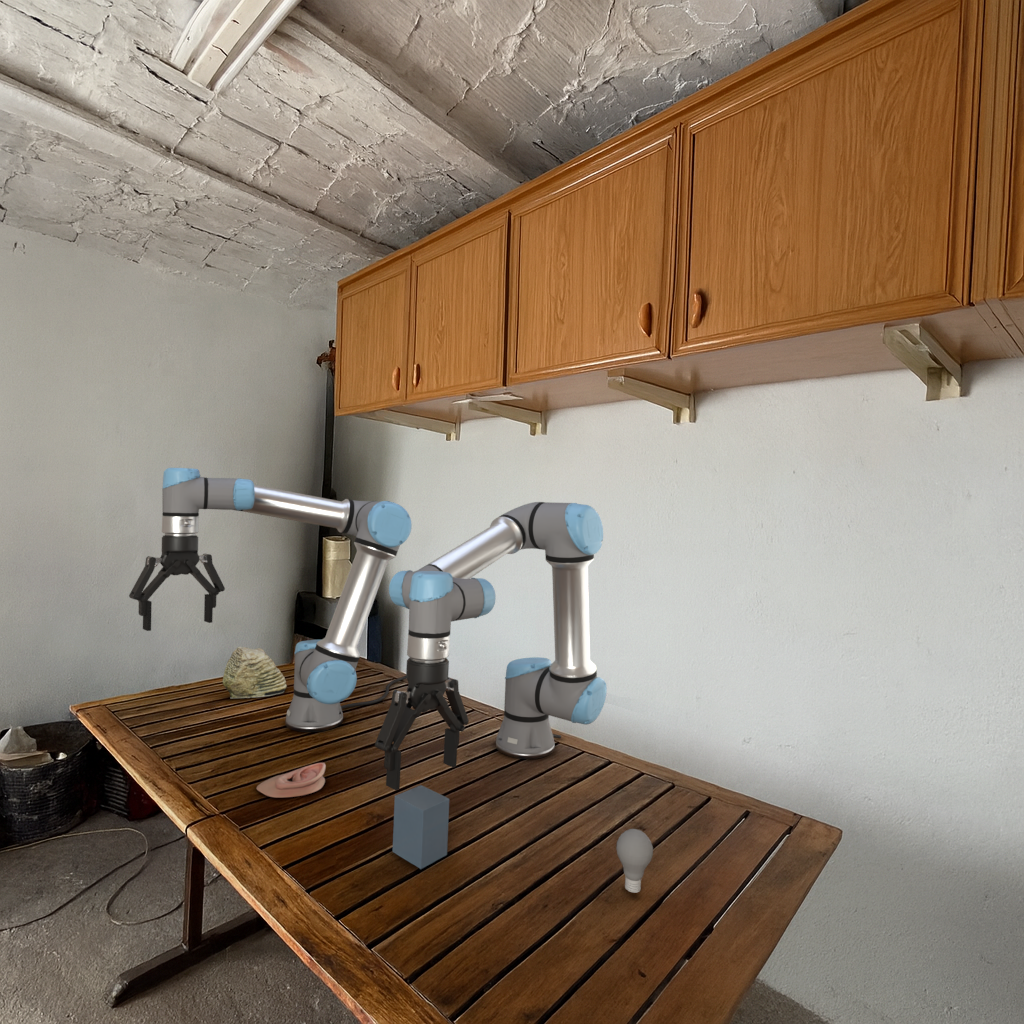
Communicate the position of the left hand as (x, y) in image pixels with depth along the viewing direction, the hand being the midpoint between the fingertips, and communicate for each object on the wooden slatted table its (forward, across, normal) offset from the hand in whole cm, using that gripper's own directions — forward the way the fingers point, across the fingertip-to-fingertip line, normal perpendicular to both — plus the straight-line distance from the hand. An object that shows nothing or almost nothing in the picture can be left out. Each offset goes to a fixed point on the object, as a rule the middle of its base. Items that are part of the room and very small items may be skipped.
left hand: (178, 625), depth 147 cm
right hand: (+18, +14, -69) cm, 73 cm away
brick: (+32, +14, -69) cm, 78 cm away
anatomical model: (+32, +12, -30) cm, 46 cm away
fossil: (+32, +37, +34) cm, 60 cm away
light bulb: (+33, +31, -103) cm, 112 cm away
